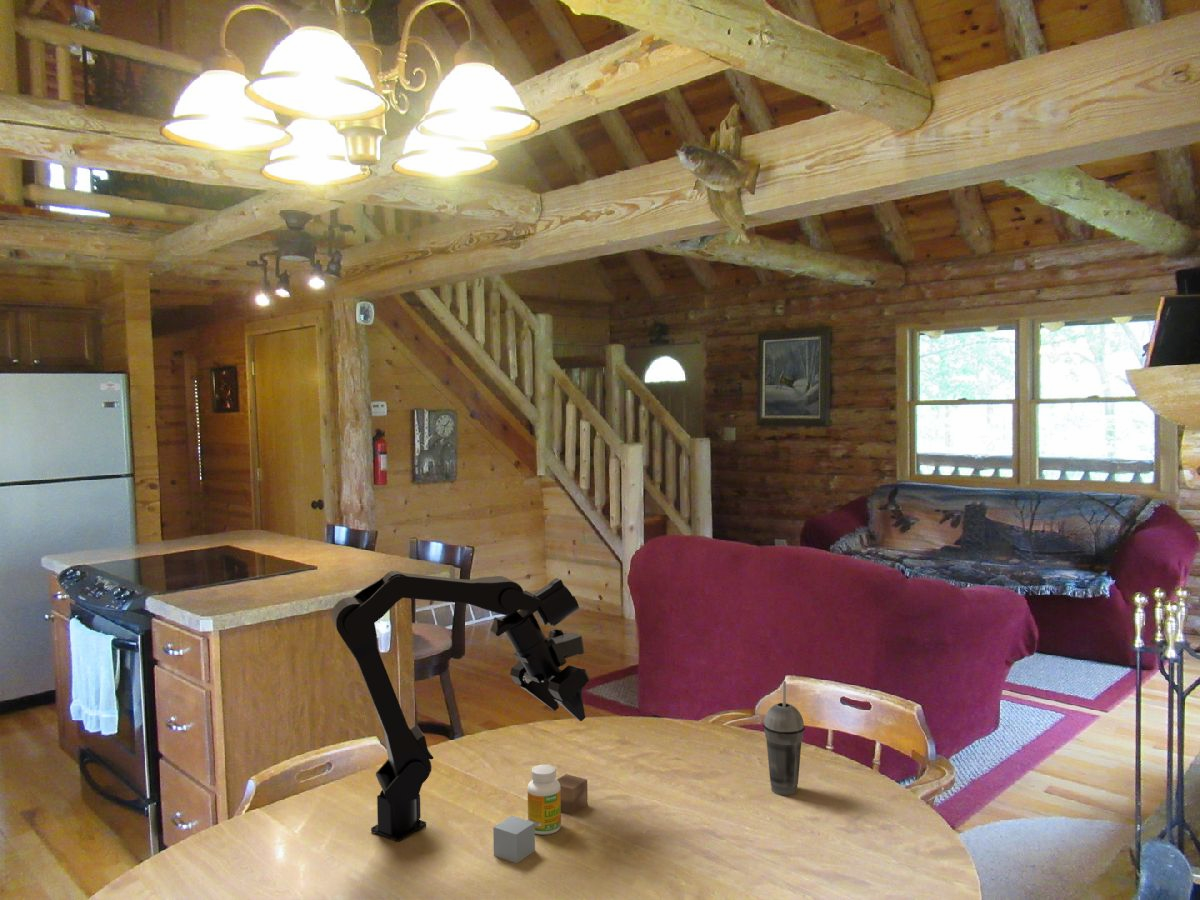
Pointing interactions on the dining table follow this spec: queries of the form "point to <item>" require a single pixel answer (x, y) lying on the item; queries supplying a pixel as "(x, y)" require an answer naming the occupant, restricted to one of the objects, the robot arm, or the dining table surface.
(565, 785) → the pinkish brown block
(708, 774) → the dining table surface
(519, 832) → the slate block
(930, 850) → the dining table surface
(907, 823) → the dining table surface
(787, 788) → the beverage cup
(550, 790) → the supplement bottle
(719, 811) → the dining table surface
